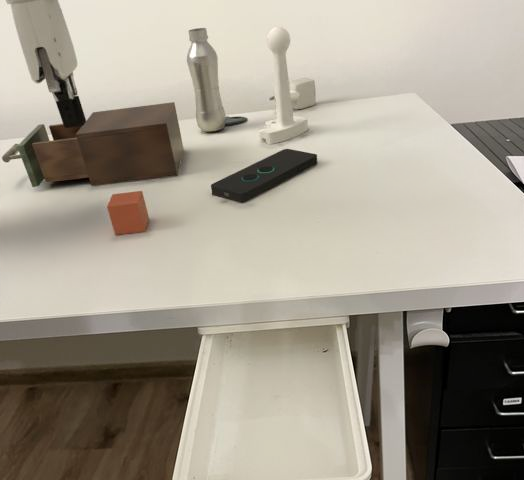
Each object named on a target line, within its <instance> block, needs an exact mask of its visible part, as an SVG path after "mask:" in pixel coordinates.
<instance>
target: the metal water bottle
mask: <svg viewBox="0 0 524 480" xmlns="http://www.w3.org/2000/svg"><path fill="white" fill-rule="evenodd" d="M188 37H189V38H188V39H189V42H191V44H190V47H189V48H188V52H187V55H186V63H187V68H188V71H189V74H190V78H191V81H192V86H193V89H194V96H195V98H194V99H195V108H196V110H195V120H196V124H197V127H198V128H199V129H200V131H202V132H216V131H219V130H222V129H224V128H225V126H226V123H227V115H226V112H225V109H224V106H223V102H222V97H221V92H220V85H219V60H218V59H219V58H218V54H217V51H216V50H215V48H214V47H213V46H212V45H211V44H210V43H209V41H208V39H209V35H208V31H207V28H206V27H199V28H191V29H189V30H188Z"/></svg>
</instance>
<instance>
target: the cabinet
mask: <svg viewBox="0 0 524 480" xmlns="http://www.w3.org/2000/svg"><path fill="white" fill-rule="evenodd" d="M76 138H77V141H78V144H79V147H80V150H81V154H82V157H83V160H84V163H85V166H86V170H87V173H88V176H89V178H88V179H89V182H90V185H91V186H90V187H94V186H103V185H109V184H110V185H112V184H119V183H127V182H135V181H145V180H152V179H161V178H168V177H177V176H178V175H179V171H180V168H181V163H182V160H183V155H184V153H185V152H184V151H185V148H184V144H183V139H182V134H181V129H180V123H179V119H178V114H177V108H176V102H175V101H172V102H164V103H156V104H147V105H140V106H132V107H124V108H116V109H109V110H101V111H93V112H92V113H91V114H90V115H89V117H88V118H87V119H86V122H85V124H84V125H83V126H82V127H81V128H80V130H79V131H78V132H77V133H76Z"/></svg>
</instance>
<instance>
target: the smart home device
mask: <svg viewBox="0 0 524 480" xmlns="http://www.w3.org/2000/svg"><path fill="white" fill-rule="evenodd" d="M317 164H318V154H317V153H311V152H306V151H302V150H297V149H291V148H283V149H281V150H279V151H277V152H275V153H273V154H271V155H268V156H267V157H265V158H263V159H261V160H259V161H257V162H254V163H252V164H250V165H248V166H246V167H243V168H242V169H240V170H237V171H236V172H234V173H231V174H229V175H228V176H225V177H223V178H221V179H219V180H217V181H215V182H213V183H211V184H210V190H211V194H212V195H213V196H217V197H220V198H224V199H227V200H230V201H233V202H238V203H241V204H243V203H246V202H249V201H250V200H252V199H254V198H256V197H258V196H260V195H262V194H263V193H265V192H268V191H269V190H272V189H273V188H275V187H277V186H279V185H280V184H283V183H284V182H286V181H289V180H290V179H293V178H294V177H296V176H298V175H299V174H301V173H303V172H305V171H307V170H309V169H311V168H312V167H315V166H316V165H317Z"/></svg>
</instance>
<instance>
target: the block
mask: <svg viewBox="0 0 524 480" xmlns="http://www.w3.org/2000/svg"><path fill="white" fill-rule="evenodd" d="M106 209H107V212H108V215H109V219H110V222H111V225H112V229H113V232H114V235H115V236H120V235H128V234H137V233H145V232H146V231H147V227H148V224H149V220H150V216H149V212H148V207H147V204H146V201H145V196H144V192H143V190H136V191H129V192H128V191H127V192H120V193H119V192H118V193H112V194H111V196H110V199H109V201H108V202H107V205H106Z"/></svg>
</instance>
